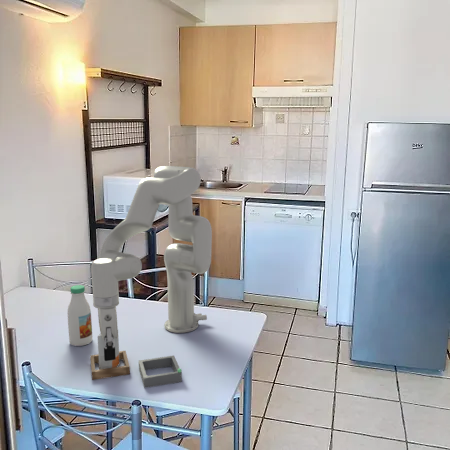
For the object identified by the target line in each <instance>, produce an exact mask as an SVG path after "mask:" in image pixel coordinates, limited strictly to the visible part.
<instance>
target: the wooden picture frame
mask: <svg viewBox="0 0 450 450" xmlns="http://www.w3.org/2000/svg"><path fill="white" fill-rule="evenodd" d="M89 357H90V367H91V368H90V369H91V381H95V380H102V379H107V378H114V377H121V376H126V375H130V374H131V368H130V363H129V359H128V355H127V352H126V350H119V361H123V364H124V365H122V366H118V367H113V368H106V369H99V368H98V369H96V366H95V365H96V364H99V354H98V353H97V354H90V356H89Z"/></svg>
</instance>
